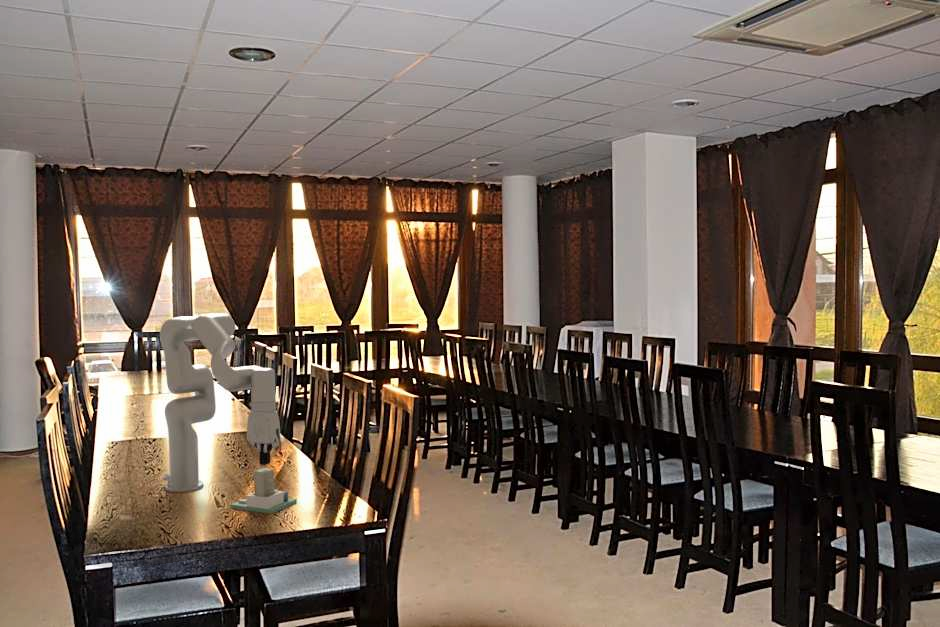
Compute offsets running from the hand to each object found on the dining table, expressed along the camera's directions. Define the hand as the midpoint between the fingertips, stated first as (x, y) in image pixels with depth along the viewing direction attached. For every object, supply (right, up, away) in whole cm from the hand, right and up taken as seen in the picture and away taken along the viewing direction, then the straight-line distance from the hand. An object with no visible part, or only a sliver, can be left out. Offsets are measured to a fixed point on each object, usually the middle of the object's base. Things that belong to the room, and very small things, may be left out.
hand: (265, 463), depth 259 cm
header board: (-1, -14, +4) cm, 15 cm away
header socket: (0, -13, +1) cm, 13 cm away
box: (0, -13, +1) cm, 13 cm away
